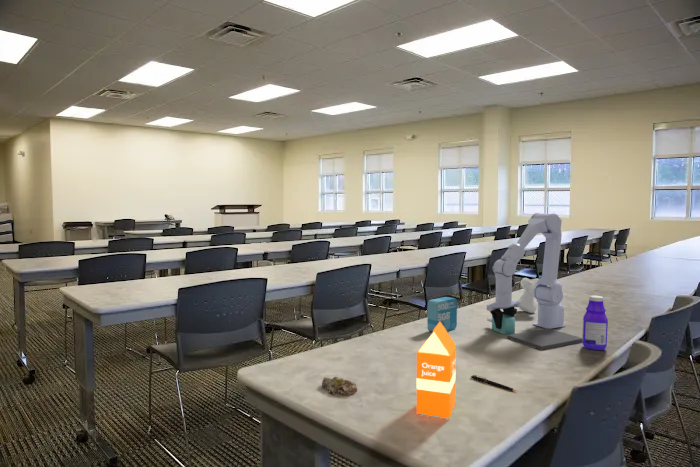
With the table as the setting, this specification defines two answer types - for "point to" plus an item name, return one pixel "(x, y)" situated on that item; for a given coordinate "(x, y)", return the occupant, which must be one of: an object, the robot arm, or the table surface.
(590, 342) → the bottle
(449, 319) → the data package
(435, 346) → the orange juice
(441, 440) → the table surface
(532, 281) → the white teddy bear
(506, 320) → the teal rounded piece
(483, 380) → the fountain pen
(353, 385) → the mineral rock
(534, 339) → the rubber mat
